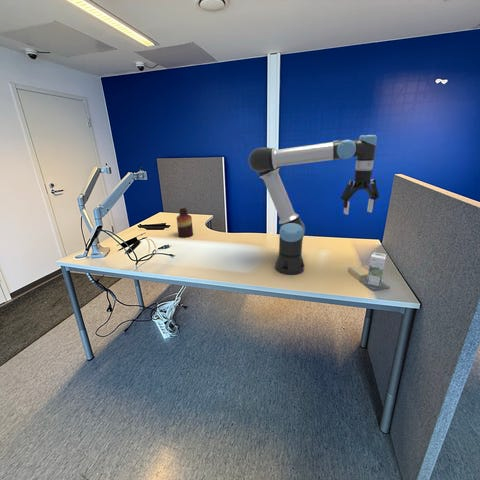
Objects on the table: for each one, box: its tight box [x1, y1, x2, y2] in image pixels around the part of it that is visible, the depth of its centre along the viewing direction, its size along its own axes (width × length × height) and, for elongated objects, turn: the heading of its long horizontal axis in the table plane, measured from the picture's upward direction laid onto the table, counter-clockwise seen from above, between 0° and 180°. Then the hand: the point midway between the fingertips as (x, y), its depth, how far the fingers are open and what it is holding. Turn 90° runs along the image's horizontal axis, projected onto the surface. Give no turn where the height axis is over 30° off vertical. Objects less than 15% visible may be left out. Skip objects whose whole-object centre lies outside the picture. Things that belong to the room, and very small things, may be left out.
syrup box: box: [367, 251, 387, 287], centre depth 116 cm, size 6×6×14 cm
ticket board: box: [347, 264, 369, 281], centre depth 128 cm, size 10×9×2 cm
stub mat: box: [358, 279, 390, 292], centre depth 119 cm, size 9×9×1 cm
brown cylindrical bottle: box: [176, 207, 194, 239], centre depth 188 cm, size 11×11×20 cm
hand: (357, 212), depth 130 cm, fingers open, 13 cm apart
